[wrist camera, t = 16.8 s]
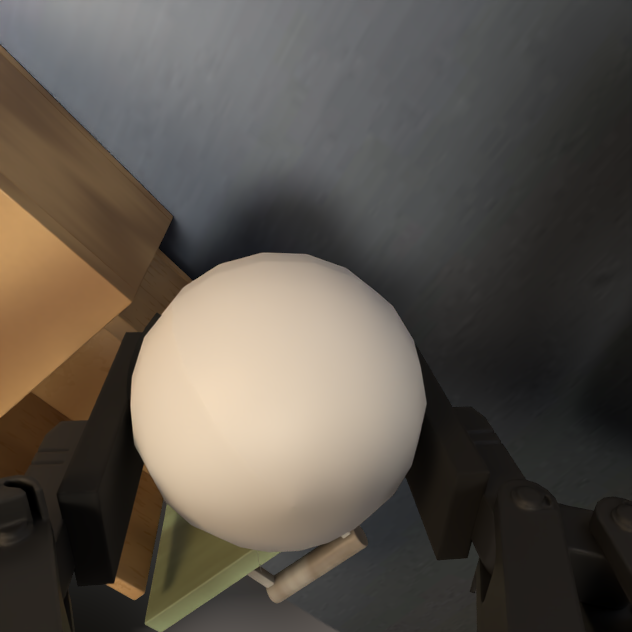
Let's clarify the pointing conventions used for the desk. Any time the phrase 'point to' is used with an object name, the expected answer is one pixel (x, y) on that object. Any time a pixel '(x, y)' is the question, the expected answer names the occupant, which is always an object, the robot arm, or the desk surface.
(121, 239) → the cabinet
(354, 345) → the cream egg
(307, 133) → the desk surface
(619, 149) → the desk surface
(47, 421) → the drawer
